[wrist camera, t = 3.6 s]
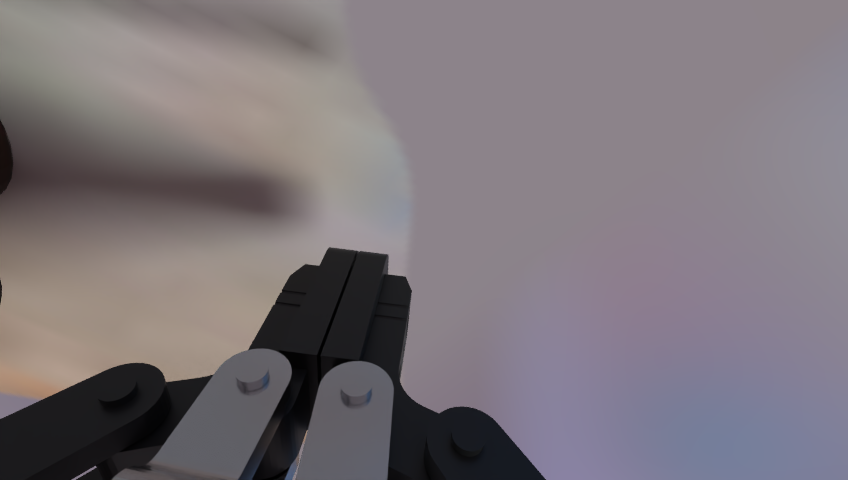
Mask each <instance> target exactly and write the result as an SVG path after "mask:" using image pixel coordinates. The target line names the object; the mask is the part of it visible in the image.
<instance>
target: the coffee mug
mask: <svg viewBox="0 0 848 480" xmlns="http://www.w3.org/2000/svg"><path fill="white" fill-rule="evenodd" d="M12 168H13V159H12V151H11V146H10V143H9V140H8V137H7V134H6V131H5V128H4V127H3V125H2V123H1V121H0V194H1V193H2V192H3V191H4V190H6V188H7V186H8V184H9V181H10V179H11V176H12ZM1 297H2V285H1V280H0V303H1Z"/></svg>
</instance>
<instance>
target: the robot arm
mask: <svg viewBox="0 0 848 480" xmlns="http://www.w3.org/2000/svg"><path fill="white" fill-rule="evenodd" d="M411 293H412V290H411V288H410V286H409V284H408V281H407V279H406V277H403V276H395V275H388V255H387V254H379V253H371V252H363V251H360V252H358V251H354V250H346V249H338V248H330V247H329V248H328V250H327V251H326V254H325V256H324V258H323V260H322V262H321V264H320V266H316V265H308V264H305V265H304V266H302V267H301V268H300V269H298V270H297V271H296V272H294V273H293V274H292V275H290V277H289V279H288V280H287V282H286V284H285V286H284V287H283V289H282V293H280V295H279V296H278V298H277V300H276V302H275V305H273V307H272V309H271V311H270V312H269V314H268V316H267V318H266V319H265V321H264V323H263V325H262V326H261V328H260V330H259V332H258V334H257V335H256V337H255V339H254V341H253V342H252V344H251V346H250V348H249V349H248V350H247V351H243V352H241V353H238V354H236V355H234V356H232V357H231V358H229V359H228V360H226V361H225V362H224V363H223V364H222V365H221V366H220V367H219V368H218V370H217V371H216V372H215V374H214V375H210V376H207V377H201V378H194V379H187V380H180V381H172V382H166V381H165V378H164V375H163V374H162V372H161V371H160V370H159V369H158V368H156V367H155V366H152V365H150V364H145V363H130V364H124V365H120V366H116V367H113V368H111V369H108V370H106V371H103V372H101V373H99V374H97V375H95V376H93V377H90V378H88V379H86V380H84V381H82V382H80V383H78V384H75V385H73V386H71V387H69V388H67V389H65V390H62V391H60V392H58V393H56V394H54V395H52V396H49V397H47V398H45V399H43V400H41V401H39V402H36V403H34V404H32V405H30V406H28V407H26V408H24V409H22V410H19V411H17V412H15V413H13V414H11V415H9V416H6V417H4V418H2V419H0V480H71V479H73V478H75V477H76V476H78V475H80V474H82V473H83V472H85V471H87V470H89V469H90V468H92V467H94V466H96V467H97V468H95V469H94V470H92V471H90V472H89V473H87V474H85V475H83V476H82V477H80V478H78V479H76V480H292V479H293V476H294V474H295V472H296V469H297V466H298V463H299V451H300V448H301V445H302V442H303V439H304V436H305V433H306V430H308V432H307V436H306V440H305V444H304V448H303V452H302V456H301V460H300V464H299V468H298V472H297V475H296V479H295V480H546V479H545V478H544V477H543V476H542V475H541V473H540V472H539V471H538V470H537V469H536V468H535V466H534V465H533V464H532V463H531V462H530V461H529V460H528V458H527V457H526V456H525V455H524V454H523V453H522V451H521V450H520V449H519V448H518V447H517V446H516V444H515V443H514V442H513V441H512V440H511V439H510V438H509V436H508V435H507V434H506V433H505V432H504V430H503V429H502V428H501V427H500V426H499V425H498V423H496V421H495V420H494V419H493V418H491V417H490V416H488V415H487V414H485V413H484V412H482V411H480V410H477V409H474V408H469V407H454V408H449V409H447V410H445V411H443V412H441V413H440V414H439V413H436V412H434V411H432V410H430V409H428V408H425V407H423V406H422V405H420V404H418V403H416V402H415V401H414V400H412V399H411V398H410V397H409V396H408V395H407V393H406V392H405V391H404V389H403V387H402V386H401V383H400V377H401V370H402V364H403V357H404V351H405V345H406V338H407V330H408V321H409V312H410V302H411Z"/></svg>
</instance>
